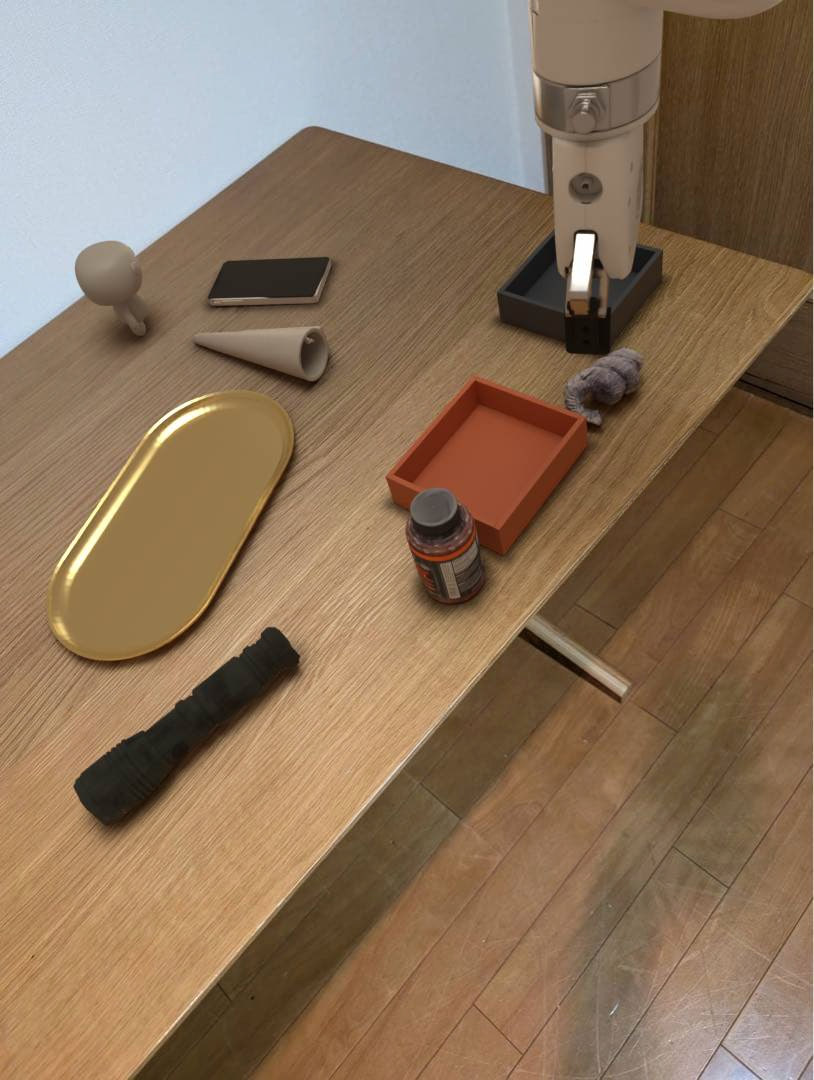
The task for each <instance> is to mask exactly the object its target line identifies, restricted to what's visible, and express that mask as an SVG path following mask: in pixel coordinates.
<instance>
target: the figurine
mask: <svg viewBox="0 0 814 1080" xmlns="http://www.w3.org/2000/svg"><path fill="white" fill-rule="evenodd" d="M74 274H75V278H76V281H77V283H78V286H79V288H80V290H81V291H82V293H83V294H84V295H85V296H86V298H87V299H88V300H89V301H91V302H92V303H93V304H96V305H98V306H102V307H112V309H113V311H114V314H115V316H116V317H117V319H118V320H120V321H121V322H122V323H123V324H126V325H128V327H129V329H130V330H131V332H132V333H133V334H134V335H136V336H138V337H143V336H144V335H146V333H147V328H146V325H145V322H144V320H145V318H146V317H147V315H148V306H147V302H146V301H145V299H144V298H143V297H142V296H141V295H139V293H138V292H139V291H140V289H141V288H142V284H143V271H142V268H141V265H140V262H139V260H138V258H137V256H136V254H135V252H134V251H133V249H132V248H131V247H130V246H129V245H127V244H125V243H123V242H121V241H119V240H103V241H99V242H97V243H93V244H90V245H89V246H86V247H85V248H84V249H82V250H81V251H80V252H79V253H78V255H77V257H76V259H75V262H74Z"/></svg>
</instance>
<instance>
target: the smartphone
mask: <svg viewBox="0 0 814 1080" xmlns="http://www.w3.org/2000/svg"><path fill="white" fill-rule="evenodd" d="M331 268H332V262H331V258H330V257H328V256H317V257H312V256H311V257H292V258H291V257H290V258H289V257H287V258H266V259H265V258H264V259H242V260H241V259H240V260H239V259H238V260H227V261H225V262H223V263H222V265H221V267H220V270H219V272H218V274H217V276H216V279H215V280H214V283H213V285H212V287H211V289H210V291H209V293H208V295H207V296H206V297H207V300H208V302H209V304H210V305H211V307H222V306H256V305H257V306H258V305H259V306H260V305H262V306H263V305H296V304H297V305H298V304H300V305H301V304H316V303H319V301H320V298H321V296H322V293H323V290H324V287H325V284H326V282H327V280H328V276H329V273H330V270H331Z"/></svg>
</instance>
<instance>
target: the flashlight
mask: <svg viewBox="0 0 814 1080" xmlns="http://www.w3.org/2000/svg"><path fill="white" fill-rule="evenodd" d="M300 659H301V655H300V654H299V653H298V652H297V651H296V649H295V648H294V647H293V646H292V644H291V642H290V640H289V639H288V637H286V635H285V634H284V633H283V632H282V630H280V629H279V628H278V627H276V626H266V628H265V629H264V630H262V631H261V632H260V637H259V638H258V639H257V640H256V641H255V642H254V643H252V644H251V645H246V646H245V647H244V648H242V652H241V653H240V654H239V655H238V656H232V657H230V659H229V660H227V661H225V663H224V664H222V665H220V667H218V668H217V669H216V670H215V671H213V672H212V673H211V674H210V675H209V676H207V678H205V679H204V680H203V681H201V683H199V684H198V685H196V686H195V687H194V688H193V689H192V690H191V694H190V695H188V696H187V697H186V698H184V699H179V700H178V701H177V702H176V703H175V704H174V707H173V708H172V709H170V711H169V712H167V713H166V714H165V715H164V716H162V717H161V718H160V719H159V720H157V721H156V722H155V723H153V724H152V725H151V726H150V727H149V728H147V730H140V731H138V732H136V733H135V734H133V735H131V736H130V737H128V738H123V739H121V740H120V742H118V743H117V744H115V746H112V747H111V748H110V750H107V751H106V752H105V754H103V755H101V756H100V757H99V758H98V759H96V760H95V761H94V762H93V763H92V764H91V765H89V766H88V767H87V768H86V769H84V770H83V771H82V772H80V775H79V776H78V777H77V778H75V781H74V784H73V786H72V787H73V790H74V792H75V794H76V795H77V798H78V800H79V802H80V804H81V805H82V806H83V807H84V808H85V810H86V811H88V812H89V813H90V814H91V815H93V817H94V818H96V819H97V820H98V821H100V823H102V824H103V825H104V826H106V827H110V826H111V825H112V824H114V823H115V822H116V821H120V820H121V819H122V818H123V817H124V816H125V815H126V814H128V813H129V812H130V811H132V810H133V809H134V808H135V807H136V806H137V805H138V804H140V803H141V802H142V801H143V800H145V799H146V798H147V796H148V795H150V794H151V793H152V791H155V790H156V789H157V787H159V786H161V785H162V781H163V780H164V779H165V778H166V777H167V775H168V774H169V773H170V772H171V770H172V769H173V768H174V766H173V765H174V764H175V763H176V762H177V761H179V760H181V759H183V758H186V756H187V755H188V754H189V752H190V750H191V749H193V747H195V746H196V745H197V744H198V743H199V742H201V741H202V740H204V741H205V740H207V739H208V738H209V737H210V736H211V732H212V731H214V730H215V729H216V728H217V726H224V725H225V724H226V723H227V722H228V721H230V719H232V718H233V717H234V716H235V715H236V714H238V713H239V712H240V711H242V709H243V708H245V707H246V706H247V705H249V703H250V702H252V701H253V700H254V699H255V698H256V697H258V695H260V694H261V693H262V692H263V690H264V688H263V687H266V686H267V685H268V684H269V683H271V682H272V681H273V680H275V679H276V677H277V676H279V675H280V673H282V672H283V671H285V670H286V669H289V670H291V669H293V668H294V667H296V666H297V665H298V664H301V663H300V661H301V660H300Z"/></svg>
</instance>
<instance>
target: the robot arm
mask: <svg viewBox="0 0 814 1080" xmlns="http://www.w3.org/2000/svg"><path fill="white" fill-rule="evenodd" d="M783 1H784V0H526V7H527V20H528V33H529V47H530V48H529V49H530V50H529V51H530V70H531V81H532V82H531V84H532V99H533V110H534V111H533V113H534V120H535V122H536V125H537V126H538V127H539V129H541V131H543V132H544V133H545V134H548V135H549V136H551V142H552V143H551V146H552V149H551V150H552V153H551V154H552V166H551V172H552V192H553V193H552V195H553V196H552V197H553V223H554V225H553V226H554V228H555V244H556V257H557V266H558V271H559V273H560V274H561V275H562V276H563V277H564V278H567V290H566V304H565V309H564V320H565V341H566V342H565V351H566V352H567V354H570V355H571V354H573V355H598V356H599V355H601V356H602V355H603V356H607V355H608V354H609V353H610V352H611V348H612V344H611V307H607V302H608V290H609V277H610V278H611V279H618V278H620V279H624V278H625V277H627V276H628V274H629V273H630V272H631V269H632V265H633V260H634V254H635V249H636V243H637V242H638V237H639V230H640V225H641V219H642V213H643V212H642V211H643V204H644V203H643V202H644V139H645V138H644V135H645V133H644V131H645V130H644V129H645V127H644V124H646V123H647V122H648V121H649V120H650V119H651V118H652V117H653V116H654V115H655V113H656V112H657V109H658V107H659V102H660V84H661V67H662V66H661V64H662V48H663V46H662V44H663V43H662V41H663V23H664V22H663V21H664V11H666V12H671V13H675V14H681V15H686V16H690V17H697V18H703V19H704V18H705V19H710V20H711V19H713V20H739V19H744V18H749V17H753V16H756V15H760V14H762V13H764V12H765V11H768V10H770V9H772V8H774V7H775V6H777V5H779V4H780V3H781V2H783ZM593 268H603V269H593ZM592 279H600V287H599V299H597V298H596V297H591V296H592V291H591V285H592Z"/></svg>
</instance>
